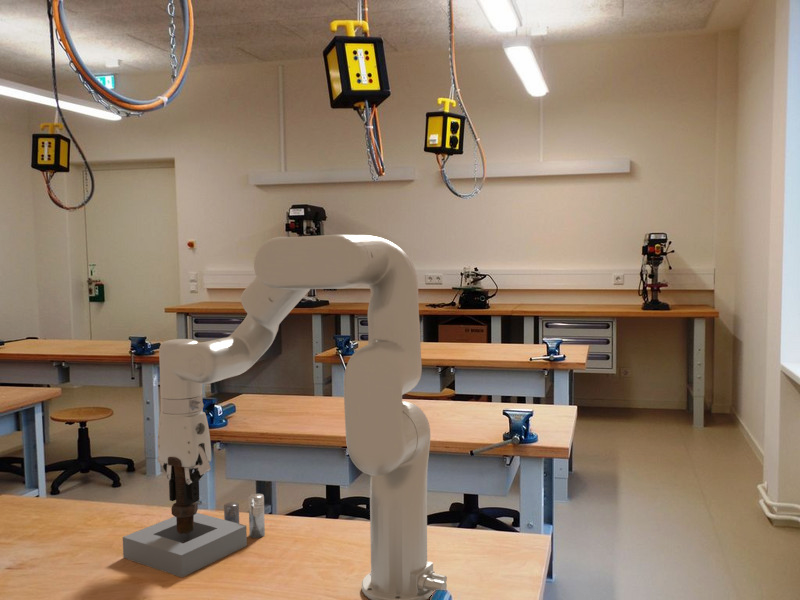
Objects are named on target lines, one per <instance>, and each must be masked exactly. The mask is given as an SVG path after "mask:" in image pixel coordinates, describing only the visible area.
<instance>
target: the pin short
mask: <svg viewBox="0 0 800 600" xmlns="http://www.w3.org/2000/svg"><path fill="white" fill-rule="evenodd" d="M223 515H224V516H223V520H227V521H231V522H234V523H238V524H240V503H239V502H235V501H233V502H231V501H230V502H226V503H224V504H223Z"/></svg>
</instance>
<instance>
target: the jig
mask: <svg viewBox="0 0 800 600" xmlns="http://www.w3.org/2000/svg"><path fill="white" fill-rule="evenodd" d="M193 517H194V518H193V519H194V529H193V530H192V531H191V532H190V533H188V534H184V533H182V534H179V533H178V532H177V523H176V522H177V521H176V520H177V519H176V518H177V517H175V516H173V517H170V518H167V519H165V520H163V521H160V522H157V523H155V524H152V525H149V526H146V527H144V528H142V529H139V530H137V531H135V532H132V533H129V534H127V535H123V536H122V551H123V552H122V557H123V559H125V558H126V559H125V560H128V561H131V562H134V563H138V564H141V565H144V566H147V567H150V568H153V569H154V570H159V571H162V572H165V573H168V574H170V575H174V576H176V577H179V578H183V577H186V576H189V575H190V574H193V573H194V572H196V571H198V570H200V569H202V568H203V569H204V568H205V567H208V566H209V565H211V564H212V563H214V562H216V561H219V560H222V559H223V558H225V557H227V556H229V555H231V554H232V553H235V552H237V551H239V550H241V549H243V548H245V547H247V546H248V539H247V537H248V535H247V525H245V524H241V523H239V524H238V523H234V522H231V521H227V520H224V518H219V517H214V516H211V515H208V514H203V513H199V512H197V513H196V514H195V515H194V516H193Z"/></svg>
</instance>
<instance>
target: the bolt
mask: <svg viewBox="0 0 800 600" xmlns="http://www.w3.org/2000/svg"><path fill="white" fill-rule="evenodd" d="M168 465H172V466H174V472H175V482H176V483H175V484H176V485H175V486H176V487H175V488H176V500H175V503H173V504H172V506H171V508H170V509H171V510H170V511H171V515H172V516H173V517H177V518H176V519H177V520H176V521H177V522H176V523H177V532H178V533H179V534H182V533H184V534H188V533H190V532H191V531H192V530H193V529H194V519H193V518H194V517H193V516H194V515H195V514H196V513H198V509H199V507H198V501H197V502H194V503H192V504H189V505H185V504H184V484H185V483H186V478H185V469H184V467H182V465H181V460H179V459H178V458H174V457H168ZM193 472H194V469H192V470H191V473H193Z"/></svg>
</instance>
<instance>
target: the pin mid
mask: <svg viewBox="0 0 800 600" xmlns="http://www.w3.org/2000/svg"><path fill="white" fill-rule="evenodd" d="M248 524H249V527H248V528H249V529H248V530H249V538H251V537H252V539H260V538H263V537H264V536H266V535H265V534H266V533H265V532H266V530H265V528H266V527H265V525H266V524H265V496H264V494H263V493H253V494H249V496H248Z"/></svg>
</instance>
